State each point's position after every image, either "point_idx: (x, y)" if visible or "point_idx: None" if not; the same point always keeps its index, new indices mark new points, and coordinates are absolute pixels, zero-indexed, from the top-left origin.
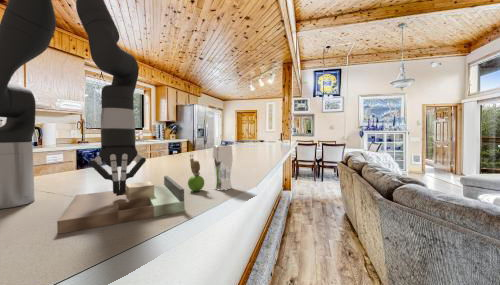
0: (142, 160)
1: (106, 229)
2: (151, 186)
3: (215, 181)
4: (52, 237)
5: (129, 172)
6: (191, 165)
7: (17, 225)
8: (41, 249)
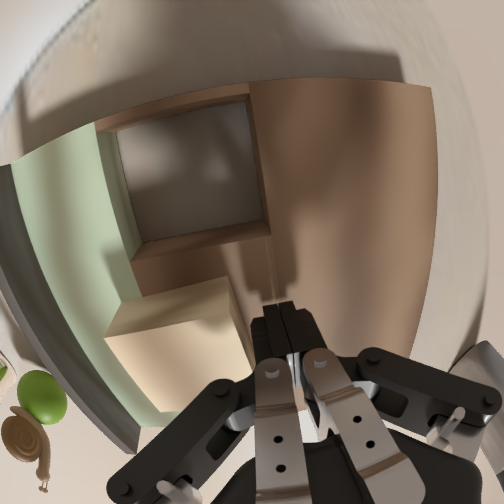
0: (131, 488)
1: (276, 49)
2: (117, 332)
3: (1, 382)
4: (408, 74)
5: (239, 423)
6: (44, 458)
7: (477, 225)
8: (397, 14)
